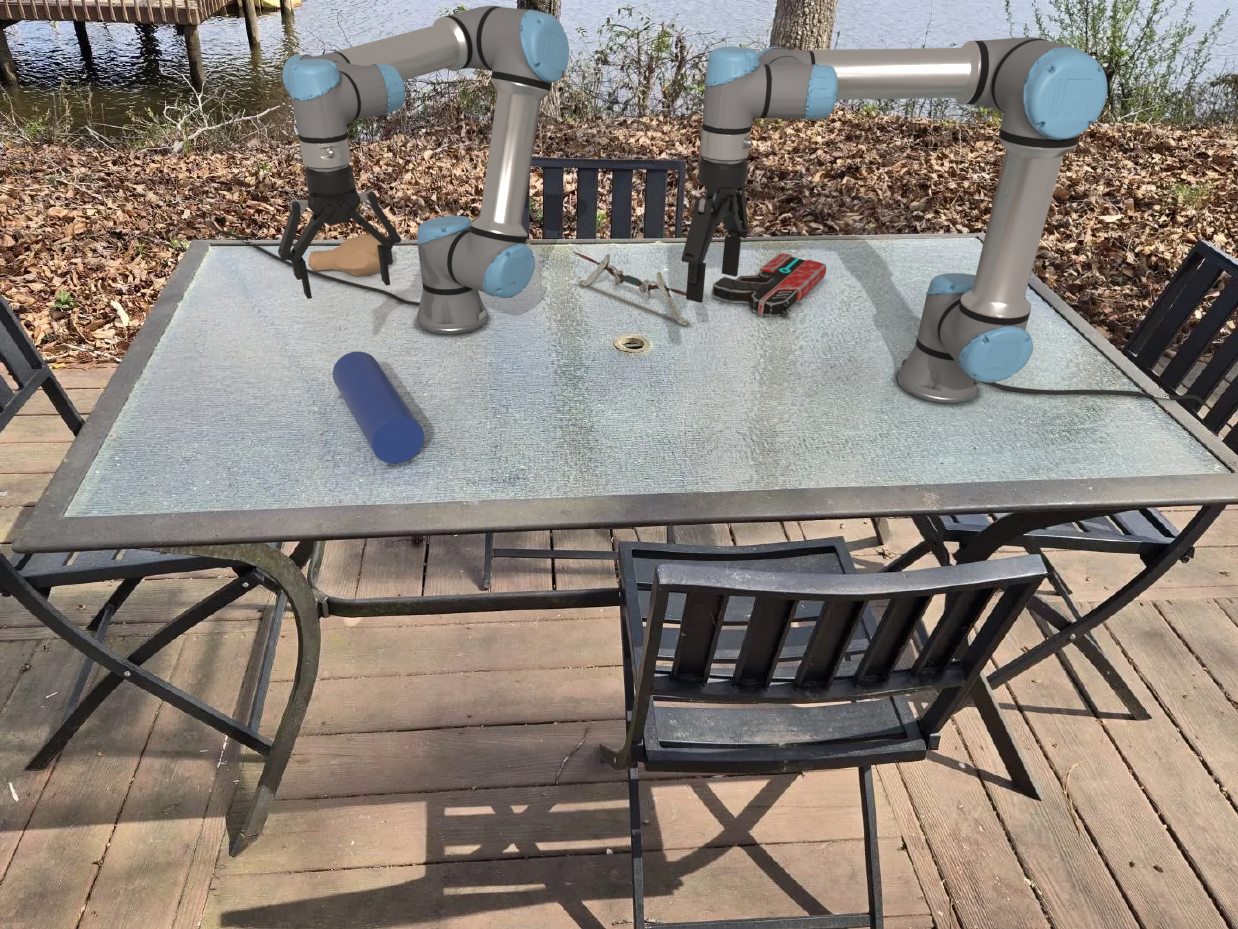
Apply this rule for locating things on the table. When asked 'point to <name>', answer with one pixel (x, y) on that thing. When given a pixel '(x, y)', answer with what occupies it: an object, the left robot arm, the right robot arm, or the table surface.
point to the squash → (349, 257)
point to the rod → (378, 408)
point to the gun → (772, 285)
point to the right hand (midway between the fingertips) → (712, 287)
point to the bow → (643, 285)
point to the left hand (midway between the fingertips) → (347, 289)
